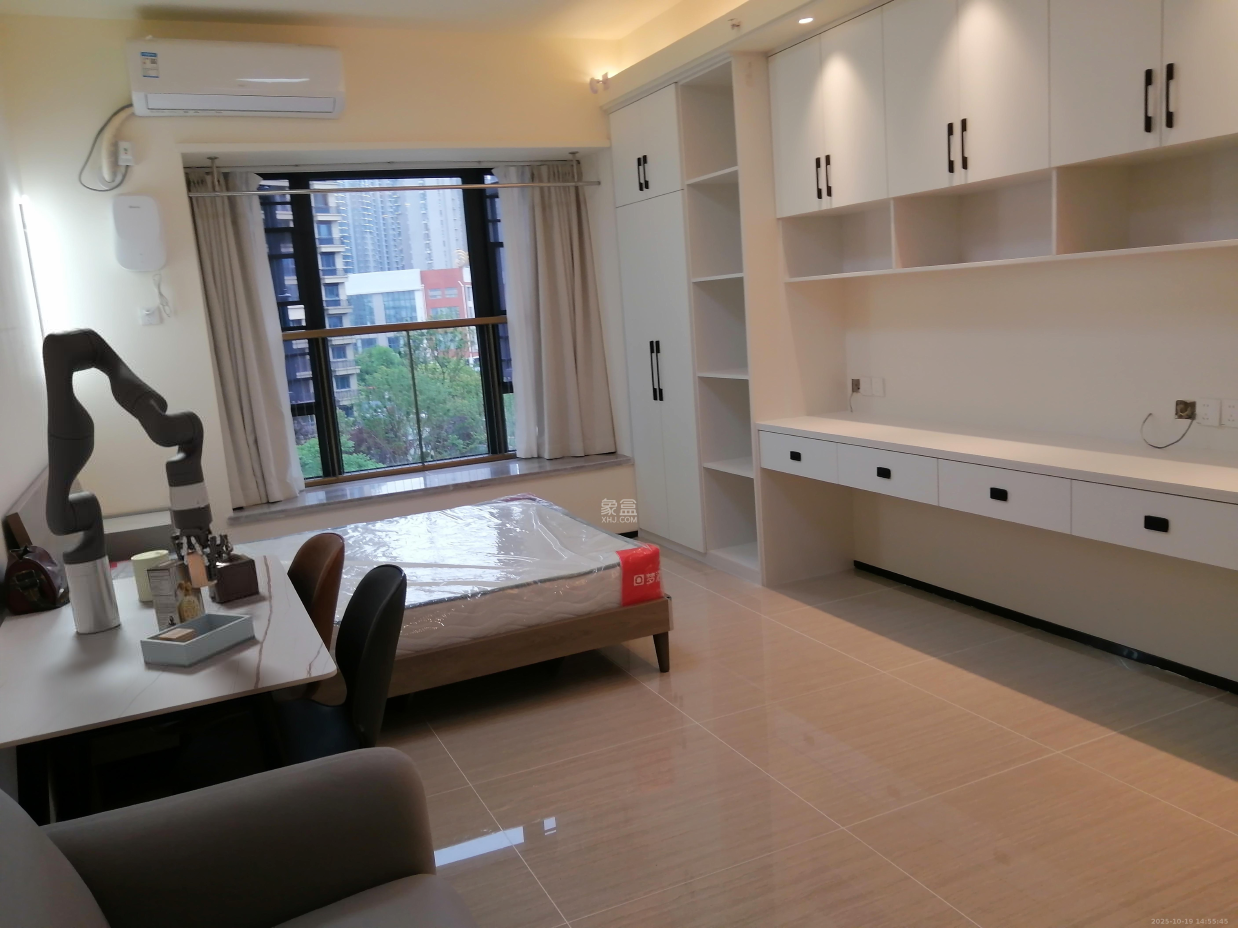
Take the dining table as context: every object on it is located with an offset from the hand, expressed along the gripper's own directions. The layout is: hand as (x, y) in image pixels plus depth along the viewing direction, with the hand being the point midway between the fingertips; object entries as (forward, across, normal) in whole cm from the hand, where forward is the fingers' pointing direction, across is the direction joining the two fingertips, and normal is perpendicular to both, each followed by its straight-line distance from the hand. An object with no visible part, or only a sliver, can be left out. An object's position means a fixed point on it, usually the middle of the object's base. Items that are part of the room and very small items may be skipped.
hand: (204, 579), depth 203 cm
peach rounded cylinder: (+1, 0, 0) cm, 1 cm away
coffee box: (+15, -18, +6) cm, 24 cm away
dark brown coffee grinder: (+15, -25, +28) cm, 40 cm away
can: (+15, -52, +25) cm, 60 cm away
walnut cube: (+14, 0, -9) cm, 17 cm away
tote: (+14, 0, -4) cm, 15 cm away
